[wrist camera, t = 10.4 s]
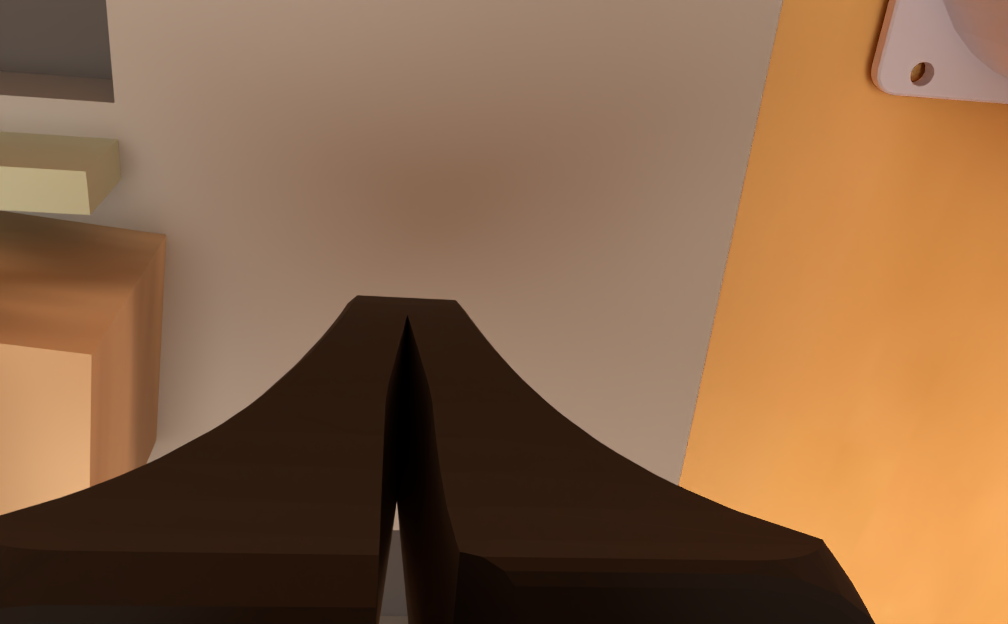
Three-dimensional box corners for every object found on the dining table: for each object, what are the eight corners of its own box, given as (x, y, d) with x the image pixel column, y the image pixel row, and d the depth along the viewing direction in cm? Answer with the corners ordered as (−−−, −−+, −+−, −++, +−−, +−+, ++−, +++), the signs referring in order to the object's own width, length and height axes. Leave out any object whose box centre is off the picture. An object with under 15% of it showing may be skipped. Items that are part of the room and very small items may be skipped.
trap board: (771, -124, 19) (855, -116, 15) (621, 625, 28) (653, 741, 24) (-202, -228, 17) (-368, -248, 13) (-30, 621, 25) (-103, 748, 22)
